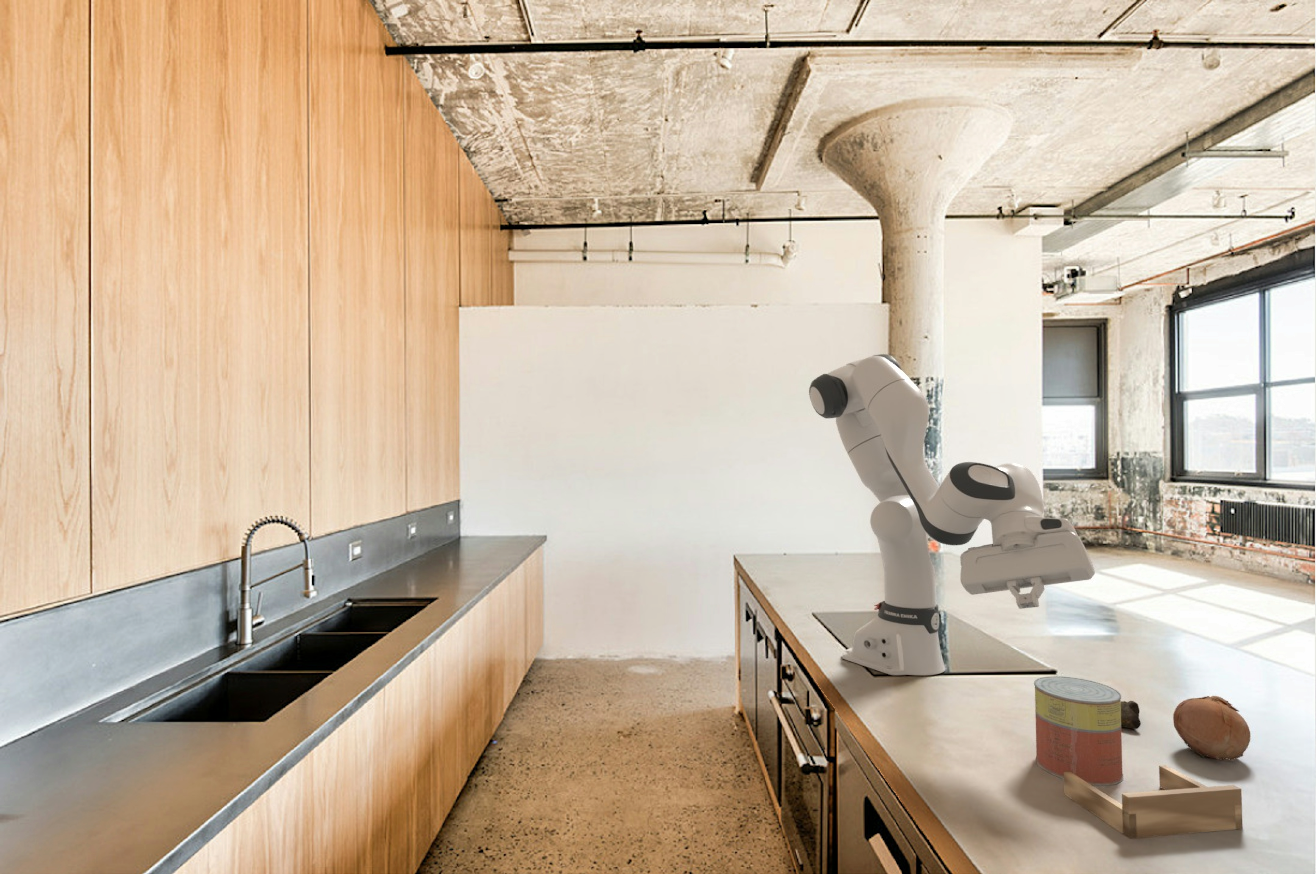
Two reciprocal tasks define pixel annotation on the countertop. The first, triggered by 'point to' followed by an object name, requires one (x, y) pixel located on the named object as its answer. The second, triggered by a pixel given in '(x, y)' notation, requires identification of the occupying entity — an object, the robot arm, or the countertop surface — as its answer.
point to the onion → (1212, 727)
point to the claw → (1130, 715)
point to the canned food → (1079, 729)
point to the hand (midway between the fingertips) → (1027, 606)
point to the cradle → (1163, 806)
